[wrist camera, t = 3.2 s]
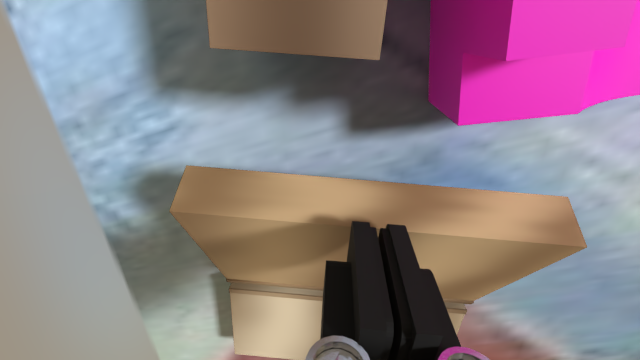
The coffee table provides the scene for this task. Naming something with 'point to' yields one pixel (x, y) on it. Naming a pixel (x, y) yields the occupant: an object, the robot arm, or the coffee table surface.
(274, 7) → the walnut block
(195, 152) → the coffee table surface
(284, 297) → the laid board
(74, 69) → the coffee table surface
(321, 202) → the plank
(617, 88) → the toy block
